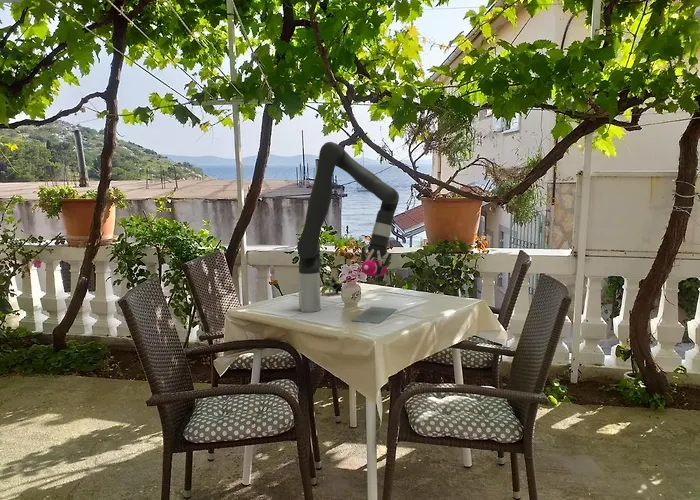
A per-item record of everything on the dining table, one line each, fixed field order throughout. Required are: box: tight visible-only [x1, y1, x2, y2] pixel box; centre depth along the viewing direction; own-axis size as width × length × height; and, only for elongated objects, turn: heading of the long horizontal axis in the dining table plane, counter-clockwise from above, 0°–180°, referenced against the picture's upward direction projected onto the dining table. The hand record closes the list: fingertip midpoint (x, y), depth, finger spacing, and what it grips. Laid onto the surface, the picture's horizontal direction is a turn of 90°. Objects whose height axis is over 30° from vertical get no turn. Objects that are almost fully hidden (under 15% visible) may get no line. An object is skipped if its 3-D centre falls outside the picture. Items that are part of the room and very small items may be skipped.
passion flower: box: [320, 275, 343, 297], centre depth 261 cm, size 11×11×12 cm
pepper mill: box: [361, 259, 388, 277], centre depth 216 cm, size 7×7×20 cm
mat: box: [351, 306, 398, 325], centre depth 220 cm, size 24×12×1 cm, turn 157°
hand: (371, 273), depth 216 cm, fingers closed on pepper mill, 5 cm apart
